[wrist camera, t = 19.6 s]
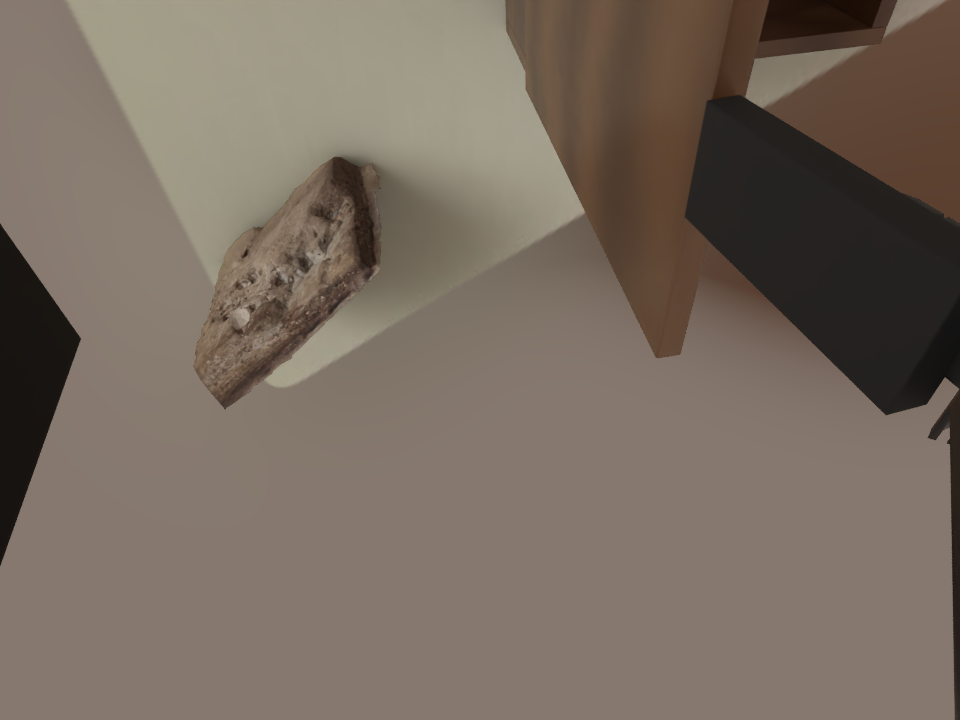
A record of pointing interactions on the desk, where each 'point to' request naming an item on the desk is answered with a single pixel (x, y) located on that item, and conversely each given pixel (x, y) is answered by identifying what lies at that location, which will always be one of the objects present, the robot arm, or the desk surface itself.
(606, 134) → the lid
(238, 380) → the mineral sample
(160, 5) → the desk surface
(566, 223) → the desk surface
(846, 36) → the storage box
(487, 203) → the desk surface
